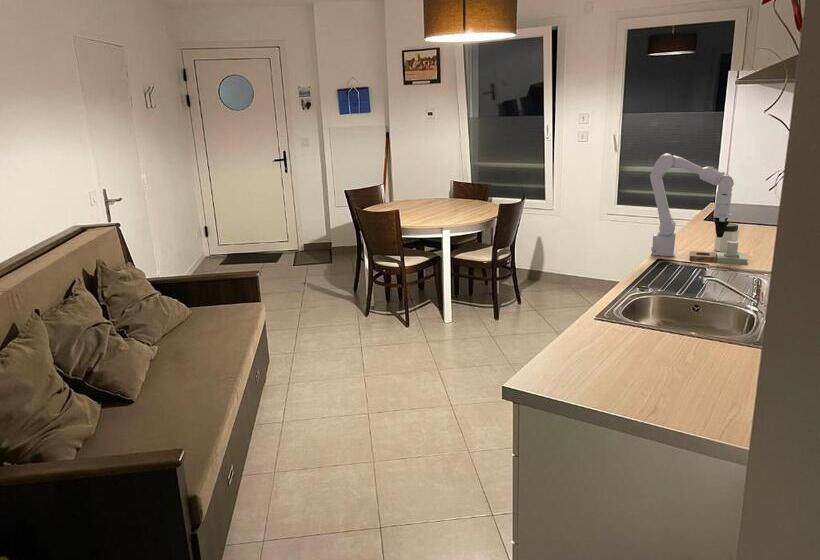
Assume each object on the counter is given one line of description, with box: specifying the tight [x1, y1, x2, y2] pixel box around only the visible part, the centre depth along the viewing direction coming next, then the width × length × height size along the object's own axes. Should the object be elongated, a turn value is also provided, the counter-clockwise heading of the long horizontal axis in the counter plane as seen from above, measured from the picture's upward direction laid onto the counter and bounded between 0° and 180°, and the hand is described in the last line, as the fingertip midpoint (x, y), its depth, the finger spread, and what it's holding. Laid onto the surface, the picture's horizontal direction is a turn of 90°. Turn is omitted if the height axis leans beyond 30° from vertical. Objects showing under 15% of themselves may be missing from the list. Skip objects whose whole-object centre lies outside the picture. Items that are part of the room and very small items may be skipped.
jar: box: [713, 222, 739, 253], centre depth 275 cm, size 9×8×12 cm
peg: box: [724, 240, 739, 257], centre depth 258 cm, size 4×4×8 cm
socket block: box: [689, 250, 717, 263], centre depth 263 cm, size 10×10×2 cm
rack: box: [715, 251, 748, 265], centre depth 259 cm, size 11×11×2 cm
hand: (719, 235), depth 262 cm, fingers open, 7 cm apart
